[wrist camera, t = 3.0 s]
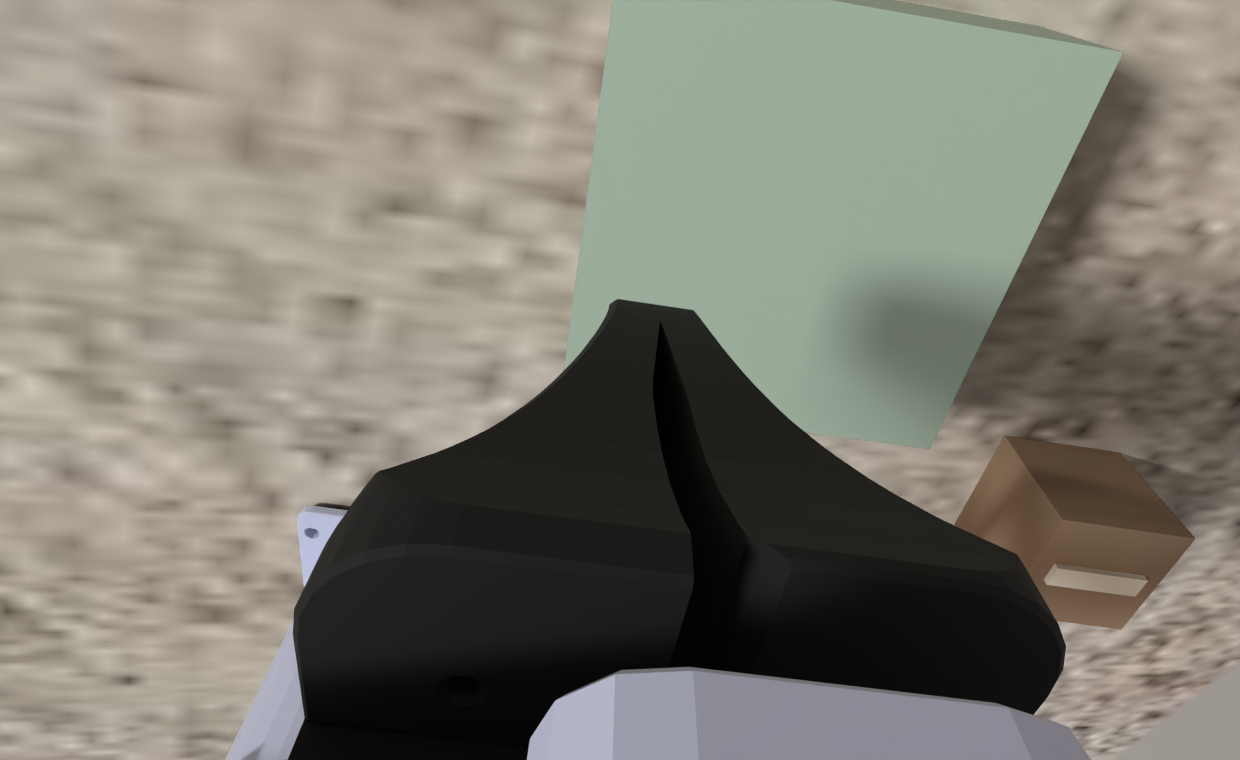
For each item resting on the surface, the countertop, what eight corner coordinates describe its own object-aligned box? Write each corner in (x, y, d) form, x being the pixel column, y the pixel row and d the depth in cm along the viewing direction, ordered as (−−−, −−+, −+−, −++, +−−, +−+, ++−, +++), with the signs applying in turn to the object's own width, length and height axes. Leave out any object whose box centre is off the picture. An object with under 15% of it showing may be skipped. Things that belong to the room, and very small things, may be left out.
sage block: (887, 370, 23) (929, 449, 20) (571, 324, 22) (560, 398, 19) (1032, 23, 18) (1123, 52, 14) (622, -50, 17) (617, -38, 14)
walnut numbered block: (1060, 537, 26) (1124, 634, 23) (953, 522, 26) (1003, 618, 23) (1118, 451, 24) (1200, 543, 21) (1003, 434, 24) (1066, 524, 20)
